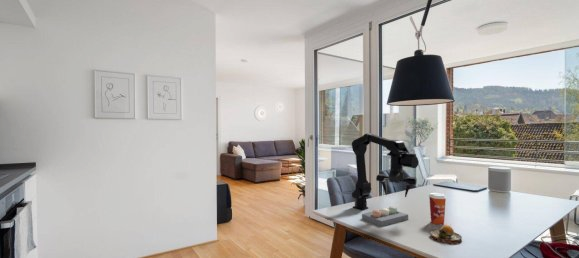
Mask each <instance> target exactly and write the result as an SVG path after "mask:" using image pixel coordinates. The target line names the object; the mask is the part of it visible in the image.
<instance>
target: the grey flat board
mask: <svg viewBox="0 0 579 258" xmlns="http://www.w3.org/2000/svg"><path fill="white" fill-rule="evenodd" d="M387 209H389V207H388V208H387ZM378 210H379V211H381V209H378ZM361 220H364V221H367V222H369V223H372V224H374V225H377V226H380V227H386V226H389V225H392V224H397V223H400V222H404V221H408V220H409V214H407V213H404V212H400V211H398V210H397V214H391V213H389V216H383V215H381V218H374V217H372V211H370V212H364V213H362V214H361Z"/></svg>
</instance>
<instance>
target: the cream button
mask: <svg viewBox="0 0 579 258" xmlns="http://www.w3.org/2000/svg"><path fill="white" fill-rule="evenodd" d="M380 210H381V215H383V216H389V209H387V208H386V207H383V208H382V207H381V208H380Z"/></svg>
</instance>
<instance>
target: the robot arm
mask: <svg viewBox="0 0 579 258" xmlns="http://www.w3.org/2000/svg"><path fill="white" fill-rule="evenodd" d="M371 143H372V144H376V145H379V146H382V147H385V149H387V150H388V151H389V152H388V153H386V156H389V157H390V170H389V173H388V175H387V174H386V173H378V174H377V175H376V177H375V178H376V181H377V182H379V184H381V185H382V187H383V191H384V193H385V195H386V196H387V195H388V183H387V181H389V183H396V184H399V183H400V182H404V183H406V184H405V192H404V193H405V194H404V197H405V198H407V197H408V196H407V195H408V193H409V190H410V188H411V187H414V185H415V186H416V185H417V182H418V181H417V180H418V178H417V177H416V176H407V177H405V173H404V172H403V169H404V168H403V167H405V168H410V169H411V168H412V169H416V168H418V166H419V158H418V157H417V154H416V153H410V152H409V149H407V147H406V145H405V141H403V140H401V139H400V140H398V139H388V138H386V137H382V136H380V135H376V134H374V133H371V132H369V133H365V134H363V135H361V136H360V137H358V138H356V139H353V140H352V141H351V147H352V148H351V149H352V152H353V153H354V154H355V163H356V175H357V181H356V183H355V189H354V191H353V192H352V193H351V196H352V198H353V199H354V205H353V206H352V208H354V209H357V210H359V211H360V210H366V209H369V207H368V206H367V205H368V203H367V201H368V200H367V198H368V197H369V196H370V194H371V191H372V183H371V182H369V181H368V179H367V169H366V167H367V166H366V156H365V154H366V152H367V150H368V146H369V145H370V144H371Z"/></svg>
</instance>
